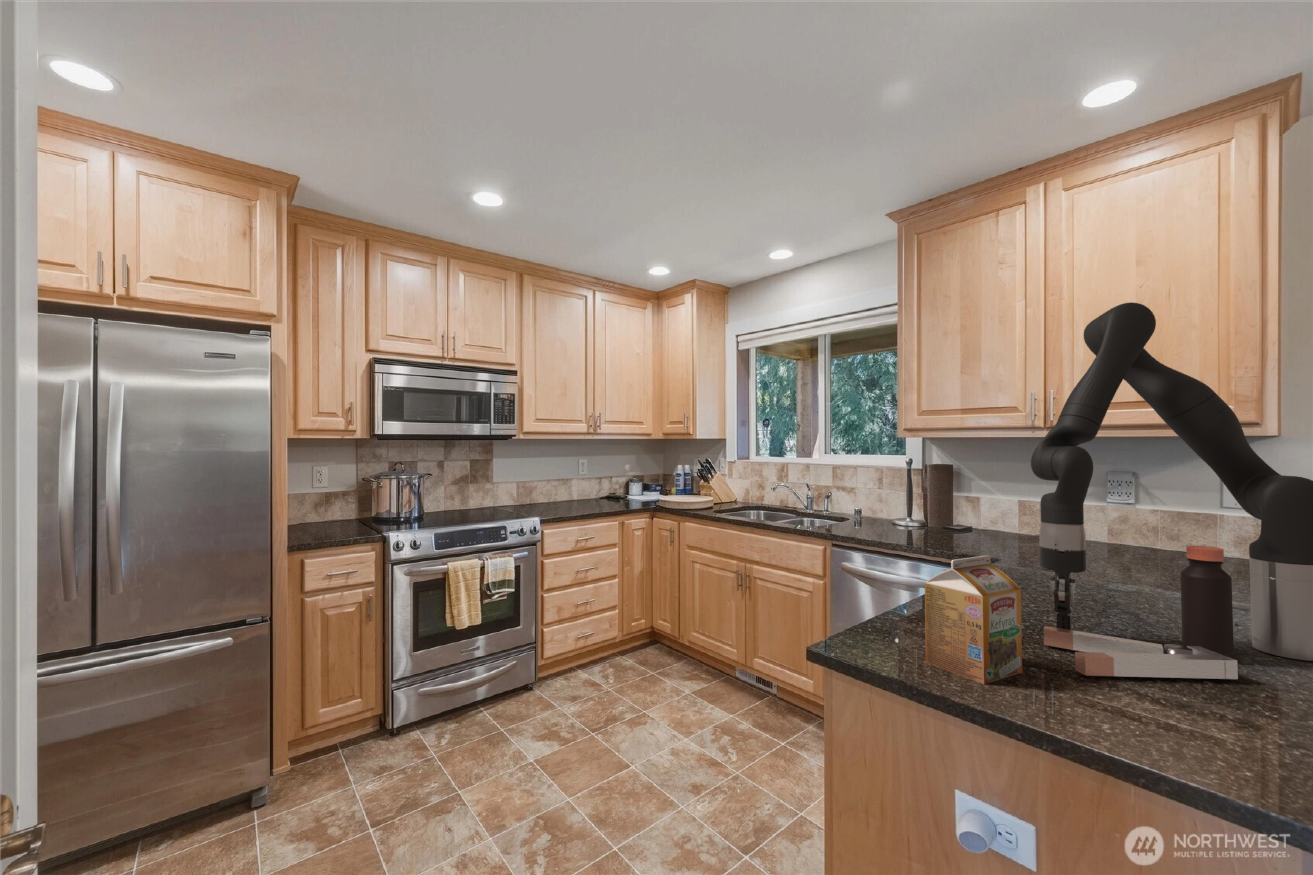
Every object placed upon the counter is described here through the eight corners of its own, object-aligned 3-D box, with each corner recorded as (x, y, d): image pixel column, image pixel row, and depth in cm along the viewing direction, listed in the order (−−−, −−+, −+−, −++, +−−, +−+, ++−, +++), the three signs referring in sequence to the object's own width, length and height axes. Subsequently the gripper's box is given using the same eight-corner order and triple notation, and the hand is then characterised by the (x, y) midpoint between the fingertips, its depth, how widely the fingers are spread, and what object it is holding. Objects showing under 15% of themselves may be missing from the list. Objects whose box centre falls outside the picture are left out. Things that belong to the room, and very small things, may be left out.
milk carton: (984, 684, 89) (982, 565, 90) (925, 662, 99) (924, 555, 99) (1022, 672, 94) (1020, 560, 95) (963, 653, 104) (961, 550, 104)
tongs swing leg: (1191, 666, 96) (1191, 647, 96) (1194, 673, 93) (1194, 652, 93) (1045, 641, 109) (1044, 624, 109) (1043, 646, 106) (1043, 628, 106)
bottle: (1219, 652, 104) (1216, 545, 105) (1244, 665, 98) (1240, 551, 98) (1174, 648, 106) (1171, 543, 107) (1195, 660, 100) (1192, 549, 101)
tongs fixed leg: (1199, 663, 97) (1198, 646, 97) (1237, 679, 90) (1237, 660, 90) (1058, 660, 98) (1057, 643, 98) (1085, 675, 91) (1085, 657, 92)
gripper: (1042, 539, 119) (1043, 621, 118) (1036, 547, 108) (1038, 637, 108) (1086, 543, 114) (1088, 628, 113) (1085, 552, 104) (1087, 645, 103)
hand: (1063, 632), depth 111 cm, fingers closed
